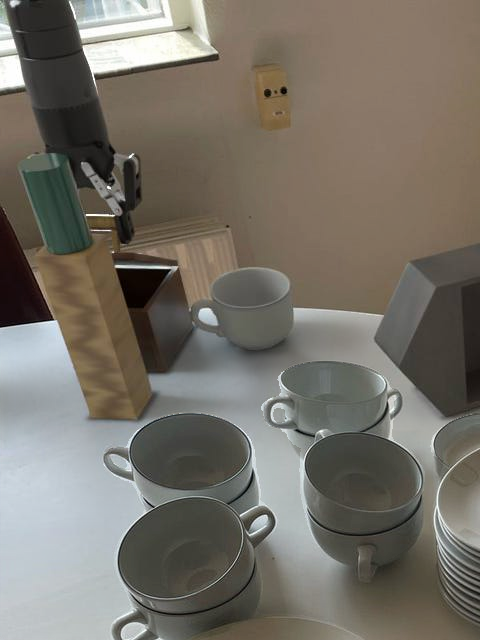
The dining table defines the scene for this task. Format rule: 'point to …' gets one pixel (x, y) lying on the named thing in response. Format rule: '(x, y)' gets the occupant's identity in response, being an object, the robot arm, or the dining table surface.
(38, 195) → the green cylinder
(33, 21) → the robot arm
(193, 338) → the dining table surface
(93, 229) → the lid
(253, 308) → the teacup
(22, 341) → the dining table surface
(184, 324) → the chest
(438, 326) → the planter
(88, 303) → the stand
